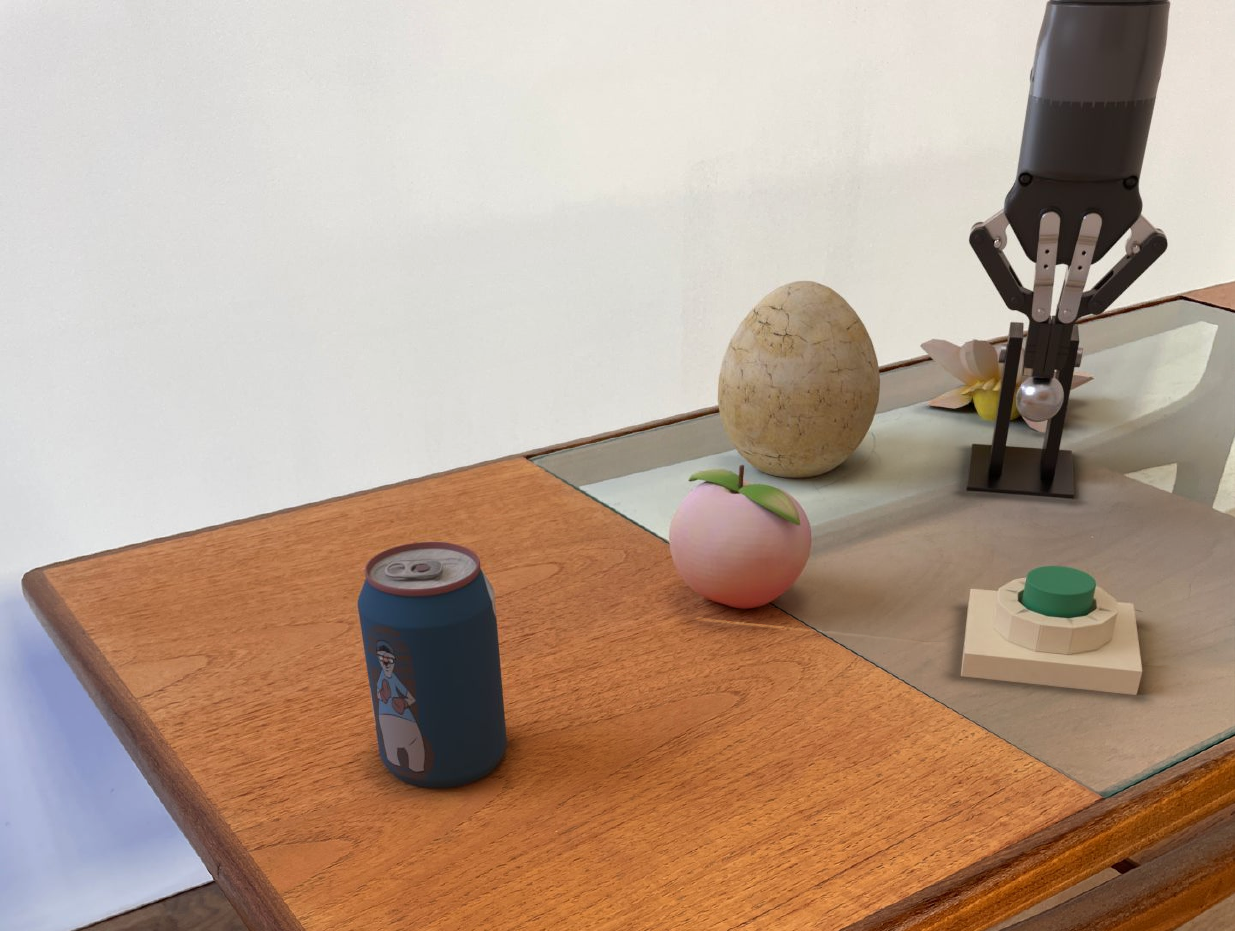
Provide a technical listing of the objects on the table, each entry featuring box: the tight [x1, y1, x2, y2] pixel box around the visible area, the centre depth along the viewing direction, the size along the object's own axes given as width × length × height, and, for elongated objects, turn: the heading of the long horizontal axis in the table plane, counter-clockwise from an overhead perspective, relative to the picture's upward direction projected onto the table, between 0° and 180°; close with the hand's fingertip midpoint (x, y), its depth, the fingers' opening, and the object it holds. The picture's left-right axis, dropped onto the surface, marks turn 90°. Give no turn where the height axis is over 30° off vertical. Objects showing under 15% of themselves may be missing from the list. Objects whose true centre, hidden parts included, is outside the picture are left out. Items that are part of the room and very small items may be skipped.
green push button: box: [1022, 565, 1097, 618], centre depth 77 cm, size 4×4×2 cm
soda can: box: [357, 541, 508, 789], centre depth 67 cm, size 7×7×12 cm
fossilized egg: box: [717, 280, 881, 479], centre depth 101 cm, size 13×13×15 cm
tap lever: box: [1016, 361, 1064, 422], centre depth 93 cm, size 13×3×3 cm, turn 165°
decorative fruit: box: [668, 464, 812, 610], centre depth 82 cm, size 9×8×10 cm
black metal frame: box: [966, 321, 1084, 500], centre depth 100 cm, size 10×8×12 cm
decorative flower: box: [919, 338, 1095, 433], centre depth 113 cm, size 15×11×10 cm
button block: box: [960, 577, 1143, 696], centre depth 78 cm, size 10×9×4 cm
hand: (1042, 374), depth 89 cm, fingers closed
